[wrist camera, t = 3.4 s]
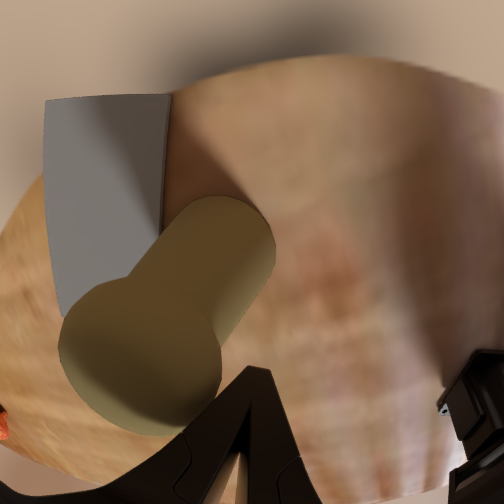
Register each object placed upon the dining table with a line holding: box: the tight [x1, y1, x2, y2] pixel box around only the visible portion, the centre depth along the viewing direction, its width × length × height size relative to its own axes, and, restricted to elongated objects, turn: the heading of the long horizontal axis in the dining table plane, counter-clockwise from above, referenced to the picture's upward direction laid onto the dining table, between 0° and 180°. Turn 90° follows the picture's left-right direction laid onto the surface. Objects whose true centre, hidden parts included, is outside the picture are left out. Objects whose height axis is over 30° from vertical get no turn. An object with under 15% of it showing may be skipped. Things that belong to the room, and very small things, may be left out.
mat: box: [43, 94, 172, 317], centre depth 18 cm, size 9×16×1 cm, turn 173°
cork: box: [58, 196, 276, 437], centre depth 12 cm, size 6×6×11 cm
